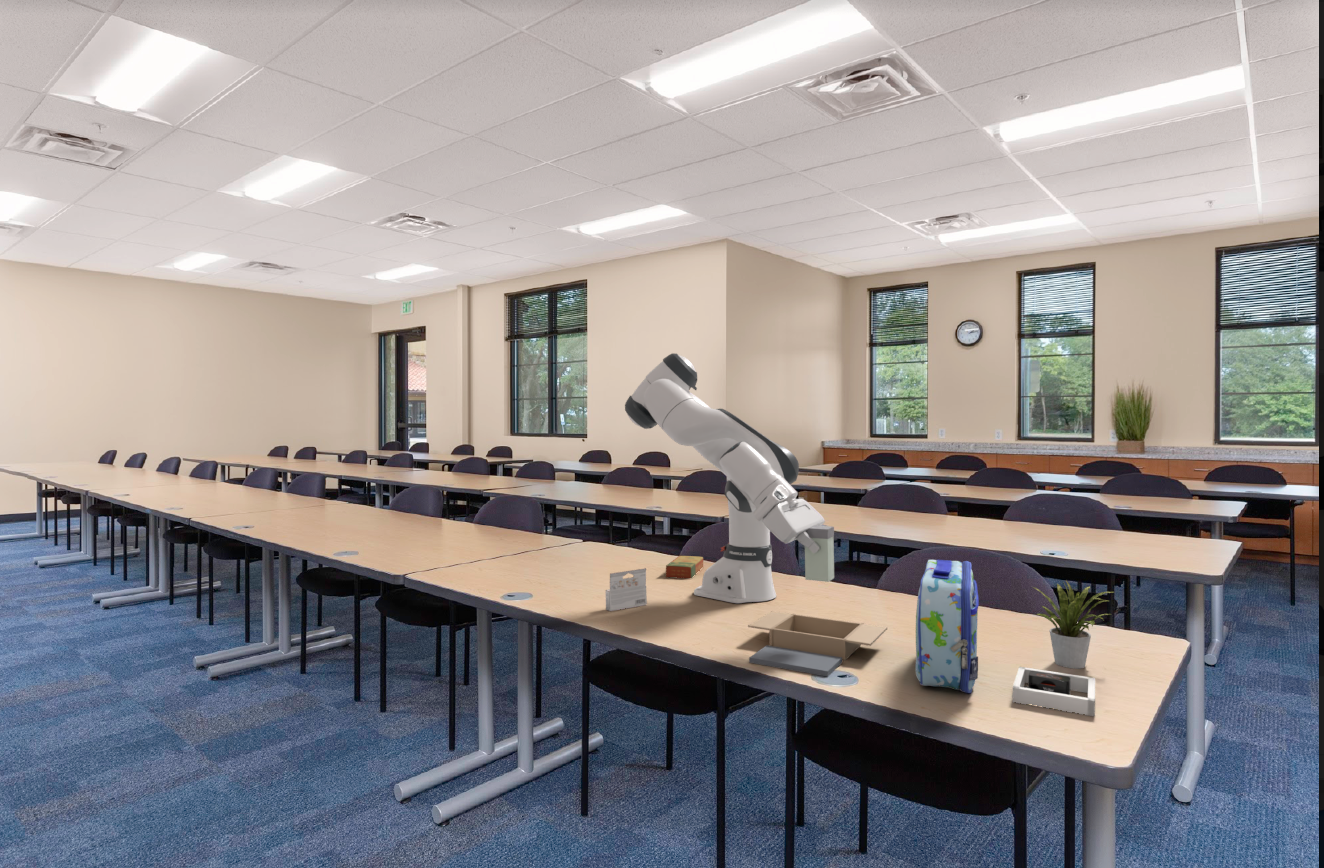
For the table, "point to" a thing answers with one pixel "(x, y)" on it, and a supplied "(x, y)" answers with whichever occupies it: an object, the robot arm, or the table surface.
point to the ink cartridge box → (626, 590)
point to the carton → (684, 566)
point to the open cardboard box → (817, 633)
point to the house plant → (1071, 627)
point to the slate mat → (796, 660)
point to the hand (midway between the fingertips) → (822, 548)
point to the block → (820, 554)
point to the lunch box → (947, 626)
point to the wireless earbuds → (1049, 682)
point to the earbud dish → (1056, 699)
